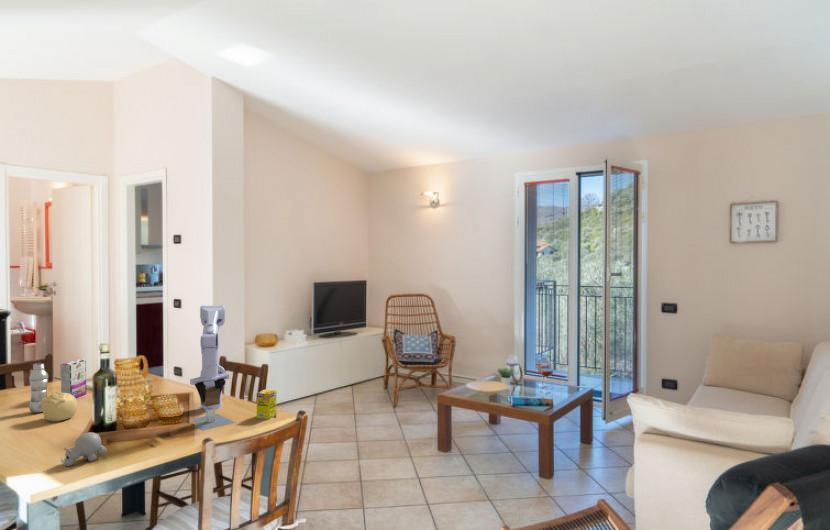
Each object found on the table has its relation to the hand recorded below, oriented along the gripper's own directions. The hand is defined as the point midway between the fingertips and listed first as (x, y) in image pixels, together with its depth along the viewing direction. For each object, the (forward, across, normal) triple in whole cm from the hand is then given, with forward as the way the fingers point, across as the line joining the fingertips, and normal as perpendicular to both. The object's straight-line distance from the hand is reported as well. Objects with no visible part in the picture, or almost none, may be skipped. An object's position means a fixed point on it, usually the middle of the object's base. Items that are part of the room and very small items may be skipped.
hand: (210, 400), depth 205 cm
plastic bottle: (+10, -44, +65) cm, 79 cm away
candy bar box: (+10, -28, +82) cm, 87 cm away
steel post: (+8, 0, 0) cm, 8 cm away
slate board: (+9, 0, 0) cm, 9 cm away
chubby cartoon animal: (+10, -45, -8) cm, 46 cm away
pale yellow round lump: (+10, -40, +48) cm, 63 cm away
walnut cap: (+2, 0, 0) cm, 2 cm away
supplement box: (+10, +19, -9) cm, 23 cm away
